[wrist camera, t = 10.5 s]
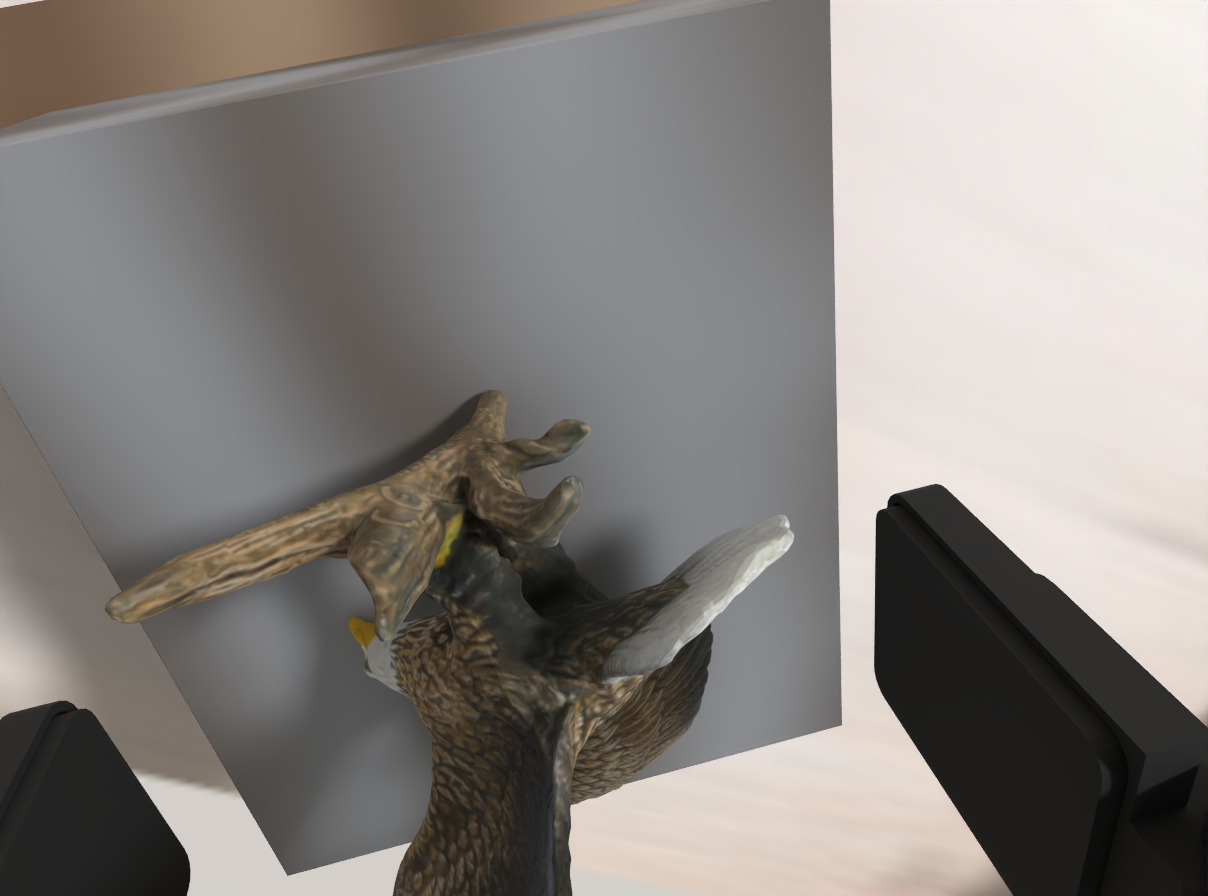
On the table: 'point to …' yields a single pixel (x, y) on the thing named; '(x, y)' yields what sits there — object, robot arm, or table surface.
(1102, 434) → the table surface
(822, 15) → the pedestal
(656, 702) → the eagle figurine
